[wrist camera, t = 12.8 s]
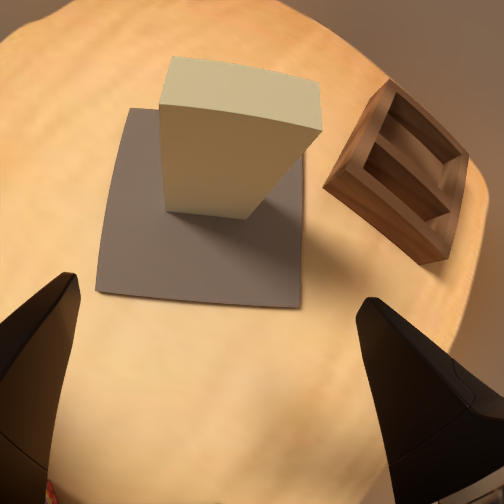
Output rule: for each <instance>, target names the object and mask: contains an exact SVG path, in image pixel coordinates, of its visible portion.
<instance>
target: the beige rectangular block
mask: <svg viewBox="0 0 504 504" xmlns="http://www.w3.org/2000/svg"><path fill="white" fill-rule="evenodd" d="M159 125H160V146H161V163H162V177H163V190H164V201H165V211H167V212H177V213H187V214H197V215H207V216H216V217H225V218H234V219H243V220H246V219H247V218H248V217H249V216H250V215H251V214H252V212H253V211H254V210H255V209H256V208H257V206H258V205H259V204H260V203H261V202H262V200H263V199H264V198H265V197H266V196H267V195H268V193H269V192H270V191H271V190H272V189H273V187H274V186H275V185H276V184H277V183H278V182H279V180H280V179H281V178H282V177H283V176H284V175H285V173H286V172H287V171H288V170H289V169H290V168H291V166H292V165H293V164H294V163H295V162H296V161H297V160H298V158H299V157H300V156H301V155H302V154H303V153H304V151H305V150H306V149H307V148H308V147H309V146H310V145H311V143H312V142H313V141H314V140H315V139H316V138H317V137H318V135H319V134H320V133H321V132H322V131H323V128H322V113H321V100H320V88H319V83H318V82H315V81H311V80H307V79H304V78H300V77H296V76H292V75H288V74H283V73H279V72H275V71H270V70H265V69H260V68H255V67H250V66H245V65H239V64H233V63H227V62H220V61H213V60H205V59H197V58H187V57H177V56H172V59H171V62H170V65H169V69H168V72H167V75H166V79H165V83H164V86H163V90H162V94H161V97H160V101H159Z"/></svg>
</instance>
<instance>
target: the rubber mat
mask: <svg viewBox="0 0 504 504" xmlns="http://www.w3.org/2000/svg"><path fill="white" fill-rule="evenodd" d="M301 246H302V155H301V156H300V157H299V158H298V160H297V161H296V162H295V163H294V164H293V165H292V166H291V168H290V169H289V170H288V171H287V172H286V173H285V175H284V176H283V177H282V178H281V179H280V180H279V182H278V183H277V184H276V185H275V186H274V187H273V189H272V190H271V191H270V192H269V193H268V195H267V196H266V197H265V198H264V199H263V200H262V202H261V203H260V204H259V205H258V206H257V208H256V209H255V210H254V211H253V212H252V214H251V215H250V216H249V217H248V218H247V219H246V220H243V219H234V218H225V217H216V216H207V215H197V214H187V213H177V212H167V211H165V201H164V190H163V177H162V163H161V146H160V125H159V110H154V109H140V108H130V110H129V113H128V117H127V120H126V124H125V127H124V131H123V134H122V138H121V142H120V146H119V150H118V154H117V158H116V162H115V167H114V171H113V175H112V180H111V185H110V190H109V195H108V200H107V205H106V211H105V217H104V222H103V229H102V235H101V242H100V249H99V257H98V266H97V275H96V285H95V291H100V292H108V293H117V294H125V295H134V296H144V297H153V298H164V299H174V300H185V301H197V302H210V303H223V304H238V305H254V306H272V307H294V308H299V301H300V278H301Z"/></svg>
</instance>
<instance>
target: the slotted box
mask: <svg viewBox="0 0 504 504" xmlns="http://www.w3.org/2000/svg"><path fill="white" fill-rule="evenodd" d="M468 160H469V154H468V153H467V152H466V151H465V149H464V148H463V147H462V146H461V145H460V144H459V143H458V142H457V141H456V140H455V139H454V137H453V136H452V135H451V134H450V133H449V132H448V131H447V130H446V129H445V128H444V127H443V126H442V125H441V124H440V123H439V122H438V121H437V120H436V119H435V118H434V117H433V116H432V115H431V114H430V113H428V112H427V111H426V110H425V109H424V108H423V107H422V106H421V105H420V104H419V103H418V102H417V101H415V100H414V99H413V98H412V97H411V96H410V95H409V94H407V93H406V92H405V91H404V90H403V89H402V88H400V87H399V86H398V85H397V84H396V83H394V82H393V81H392V80H391V79H389V80H388V81H387V82H386V83H385V84H384V85H383V86H382V87H381V88H380V89H379V90H378V91H377V92H376V93H375V94H374V95H373V96H372V97H371V98H370V100H369V102H368V104H367V106H366V108H365V110H364V111H363V113H362V115H361V117H360V119H359V121H358V123H357V125H356V127H355V128H354V130H353V132H352V134H351V136H350V138H349V140H348V142H347V143H346V145H345V147H344V149H343V151H342V153H341V155H340V156H339V158H338V160H337V162H336V164H335V166H334V167H333V169H332V171H331V173H330V175H329V177H328V178H327V180H326V182H325V184H324V186H323V187H322V188H324V189H325V190H326V191H328V192H329V193H331V194H332V195H333V196H335V197H336V198H337V199H339V200H340V201H341V202H343V203H344V204H345V205H347V206H348V207H349V208H350V209H352V210H353V211H354V212H356V213H357V214H358V215H359V216H361V217H362V218H363V219H365V220H366V221H367V222H368V223H370V224H371V225H372V226H373V227H375V228H376V229H377V230H378V231H380V232H381V233H382V234H383V235H384V236H386V237H387V238H388V239H389V240H390V241H392V242H393V243H394V244H395V245H396V246H398V247H399V248H400V249H401V250H402V251H404V252H405V253H406V254H407V255H408V256H409V257H411V258H412V259H413V260H414V261H415V262H416V263H417V264H419V265H422V264H427V263H432V262H436V261H441V260H446V259H448V257H449V254H450V250H451V246H452V242H453V238H454V234H455V230H456V226H457V222H458V217H459V212H460V208H461V203H462V197H463V192H464V186H465V180H466V174H467V167H468Z"/></svg>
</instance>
